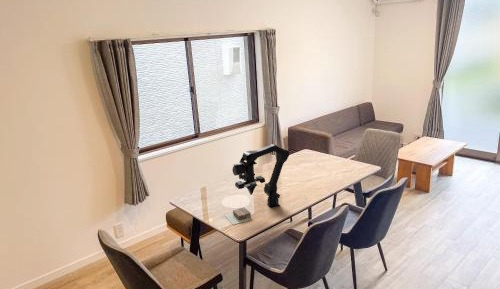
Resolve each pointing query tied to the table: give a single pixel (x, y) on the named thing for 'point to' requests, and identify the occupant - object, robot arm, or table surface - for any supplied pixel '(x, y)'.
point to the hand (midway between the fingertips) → (251, 194)
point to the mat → (235, 219)
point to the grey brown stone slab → (241, 213)
